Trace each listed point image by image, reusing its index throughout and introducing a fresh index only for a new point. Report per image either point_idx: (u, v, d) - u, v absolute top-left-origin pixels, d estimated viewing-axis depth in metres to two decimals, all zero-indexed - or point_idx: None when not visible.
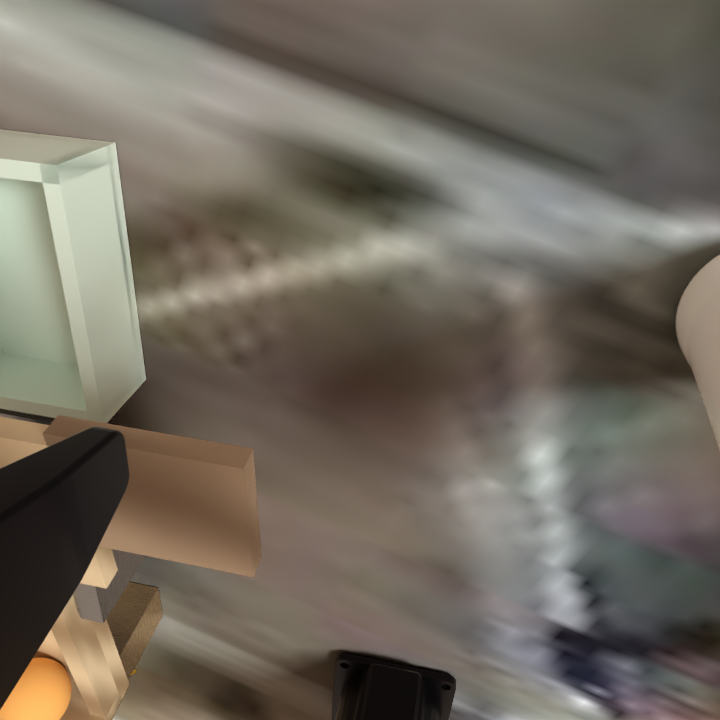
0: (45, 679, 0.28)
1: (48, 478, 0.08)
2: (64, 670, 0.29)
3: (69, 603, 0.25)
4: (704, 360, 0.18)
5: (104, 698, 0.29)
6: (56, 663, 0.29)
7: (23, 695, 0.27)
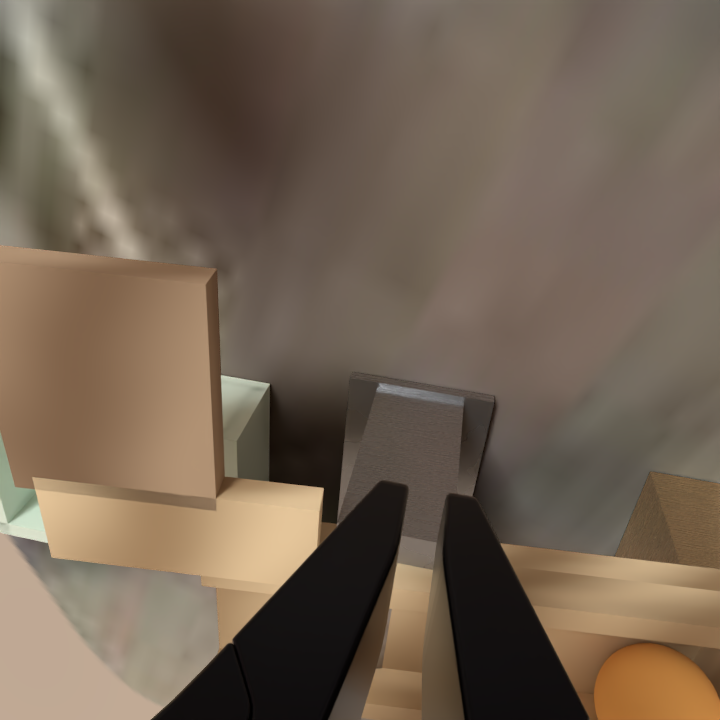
0: (612, 673, 0.17)
1: (385, 545, 0.07)
2: (636, 644, 0.18)
3: (413, 574, 0.17)
4: None
5: (700, 614, 0.16)
6: (621, 648, 0.18)
7: (612, 715, 0.17)
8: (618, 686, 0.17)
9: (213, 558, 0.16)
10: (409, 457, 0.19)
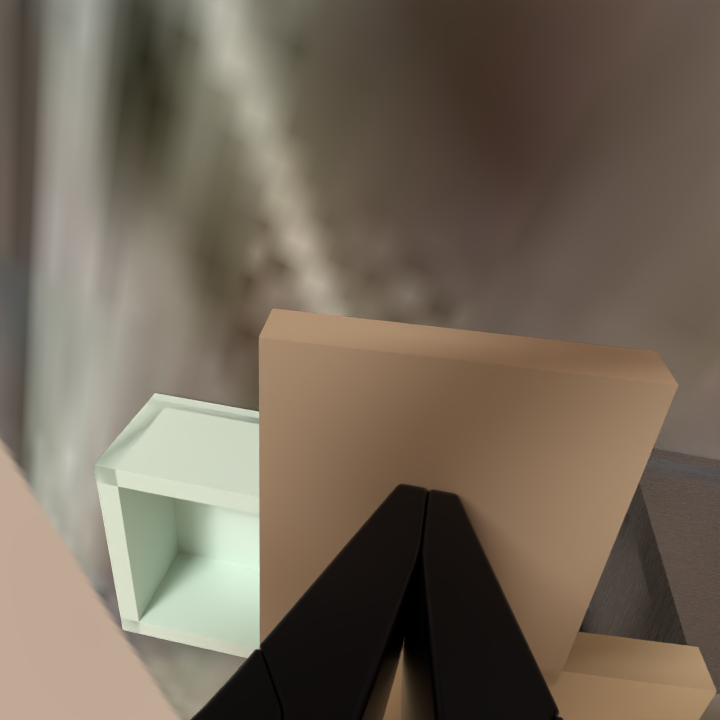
0: None
1: (407, 550, 0.07)
2: None
3: None
4: None
5: None
6: None
7: None
8: None
9: None
10: None
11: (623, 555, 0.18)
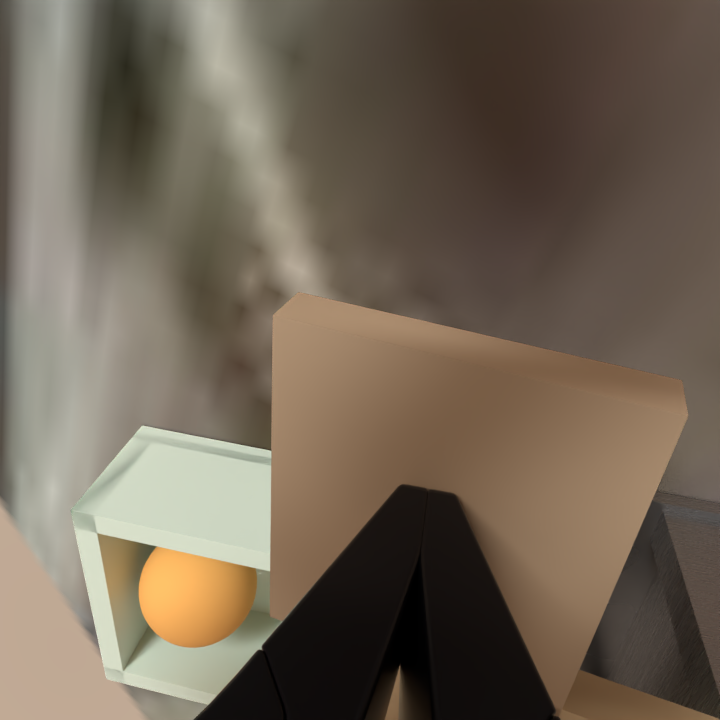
0: None
1: (409, 550, 0.07)
2: None
3: None
4: None
5: None
6: None
7: None
8: None
9: None
10: None
11: (650, 610, 0.16)
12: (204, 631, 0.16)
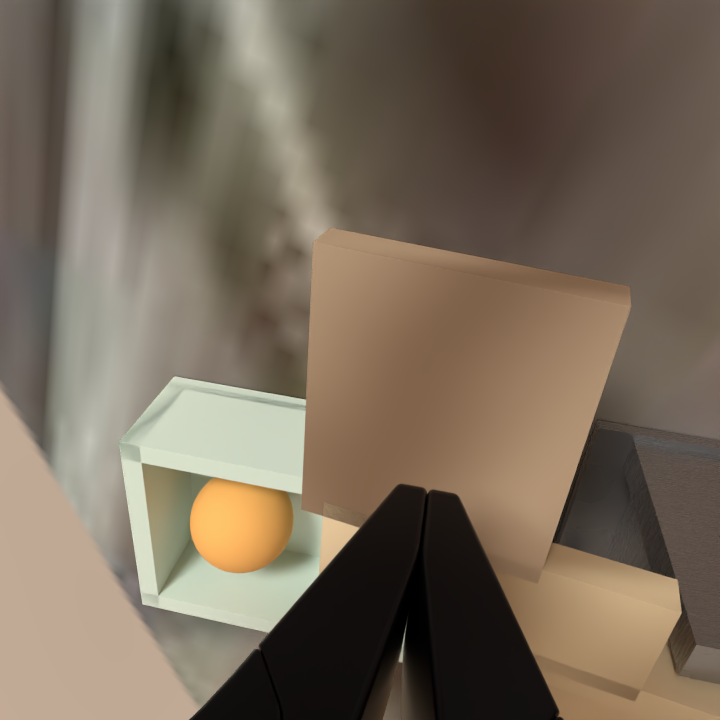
0: None
1: (406, 549, 0.07)
2: None
3: None
4: None
5: None
6: None
7: None
8: (211, 479, 0.20)
9: None
10: None
11: (624, 531, 0.19)
12: (267, 550, 0.19)
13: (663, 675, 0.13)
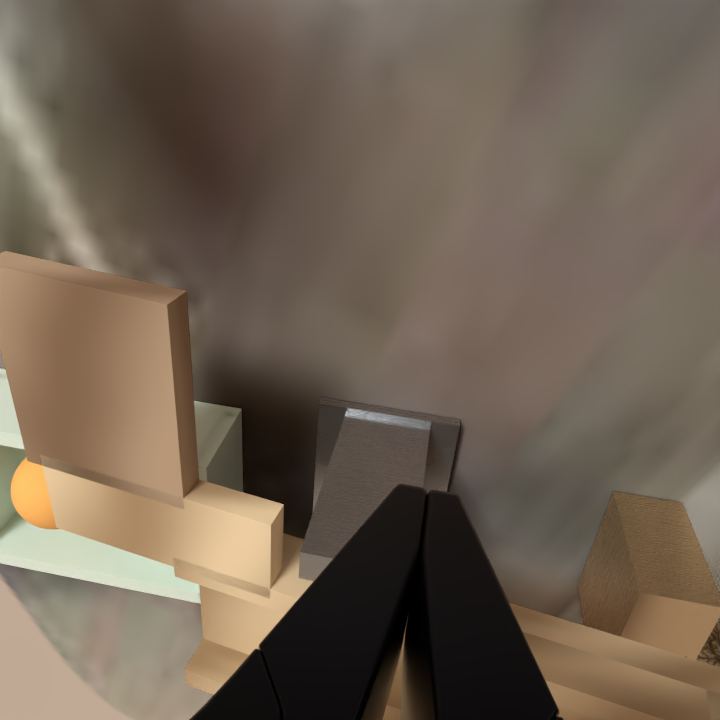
0: None
1: (407, 550, 0.07)
2: None
3: None
4: None
5: (657, 704, 0.15)
6: None
7: None
8: None
9: (183, 553, 0.17)
10: (374, 484, 0.19)
11: None
12: None
13: (293, 579, 0.17)
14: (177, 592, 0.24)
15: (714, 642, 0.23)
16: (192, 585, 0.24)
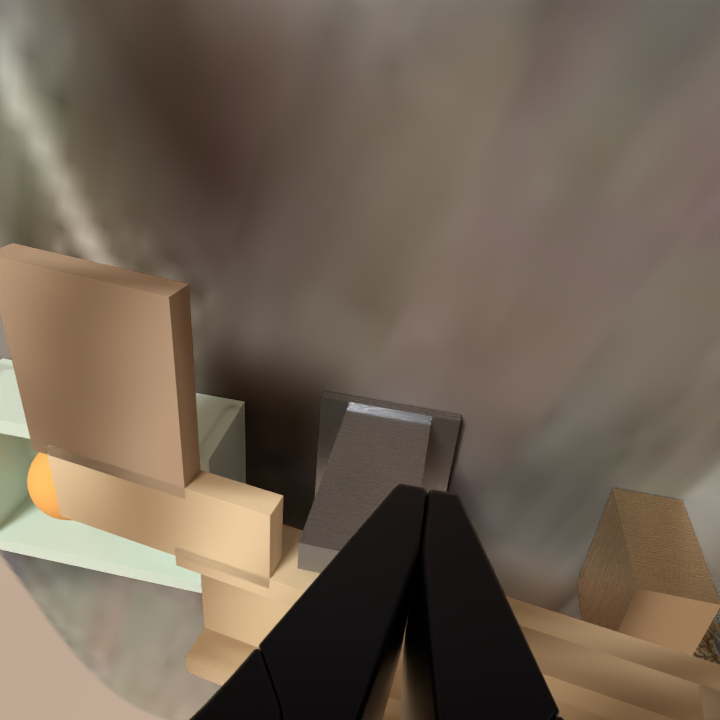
0: None
1: (407, 550, 0.07)
2: None
3: None
4: None
5: (650, 698, 0.15)
6: None
7: None
8: None
9: (184, 542, 0.18)
10: (373, 477, 0.19)
11: None
12: None
13: (292, 570, 0.18)
14: (180, 582, 0.24)
15: (711, 641, 0.23)
16: (194, 575, 0.24)
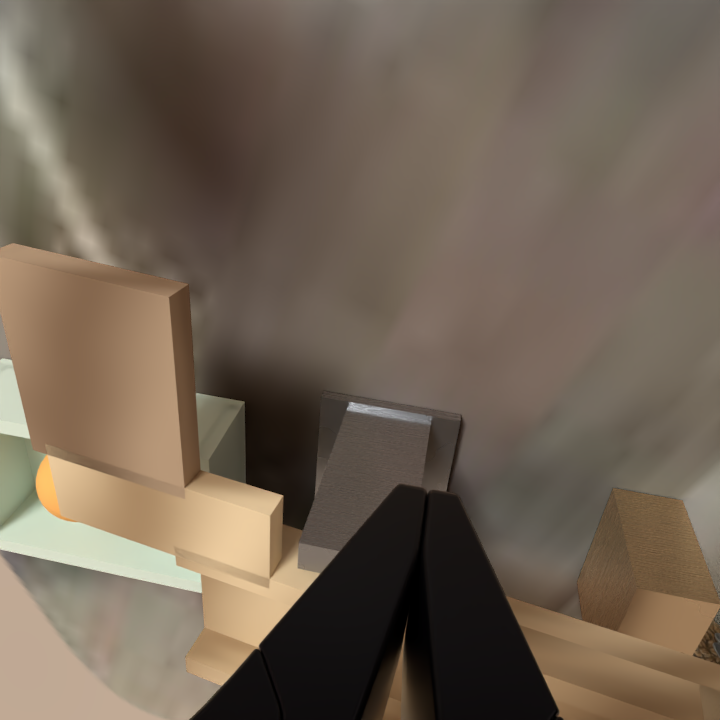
0: (46, 456, 0.24)
1: (407, 550, 0.07)
2: None
3: None
4: None
5: (650, 698, 0.15)
6: None
7: None
8: (41, 462, 0.24)
9: (184, 542, 0.18)
10: (373, 477, 0.19)
11: None
12: None
13: (292, 570, 0.18)
14: (180, 582, 0.24)
15: (710, 642, 0.23)
16: (194, 575, 0.24)
